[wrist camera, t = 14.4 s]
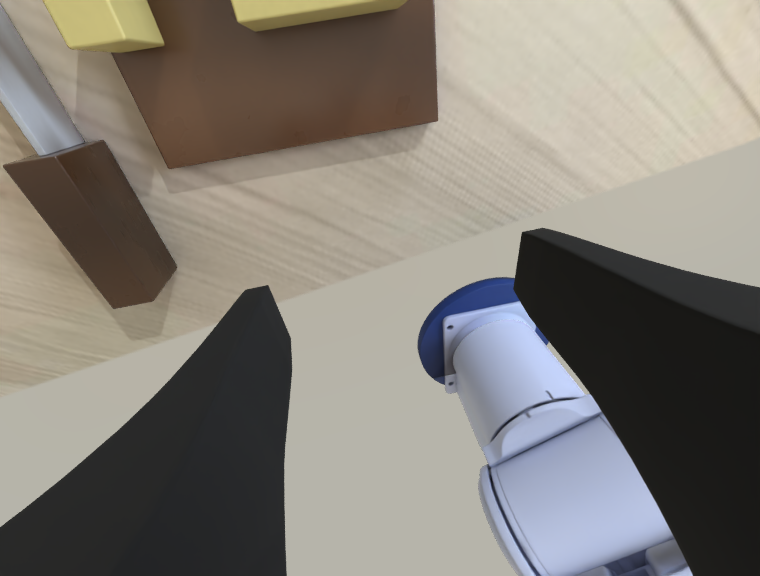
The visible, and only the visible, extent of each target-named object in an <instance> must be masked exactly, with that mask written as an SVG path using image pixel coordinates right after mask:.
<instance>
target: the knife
mask: <svg viewBox="0 0 760 576" xmlns="http://www.w3.org/2000/svg"><path fill="white" fill-rule="evenodd" d="M0 101H1V102H2V104H3V105H4V107H5V108H6V109H7V111H8V112H9V114H10V115H11V117H12V118H13V119H14V121H15V122H16V124H17V125H18V127H19V128H20V129H21V131H22V132H23V134H24V135H25V137H26V138H27V139H28V141H29V142H30V144H31V145H32V147H33V148H34V149H35V151H36V152H37V155H34V156H30V157H27V158H24V159H21V160H18V161H14V162H11V163H8V164H5V165H3V168H4V169H5V170H6V171H7V173H8V174H9V175H10V177H11V178H12V179H13V180H14V182H15V183H16V184H17V186H18V187H19V188H20V189H21V191H22V192H23V193H24V195H25V196H26V197H27V198H28V200H29V201H30V202H31V204H32V205H33V206H34V207H35V209H36V210H37V211H38V213H39V214H40V215H41V216H42V218H43V219H44V220H45V222H46V223H47V224H48V226H49V227H50V228H51V229H52V231H53V232H54V233H55V235H56V236H57V237H58V238H59V240H60V241H61V242H62V244H63V245H64V246H65V247H66V249H67V250H68V251H69V253H70V254H71V255H72V256H73V258H74V259H75V260H76V262H77V263H78V264H79V265H80V267H81V268H82V269H83V271H84V272H85V273H86V274H87V276H88V277H89V278H90V280H91V281H92V282H93V283H94V285H95V286H96V287H97V289H98V290H99V291H100V292H101V294H102V295H103V296H104V298H105V299H106V300H107V301H108V303H109V304H110V305H111V307H112V308H113V309H116V308H121V307H127V306H132V305H137V304H142V303H147V302H152V301H154V300H155V298H156V297H157V295H158V294H159V293H160V291H161V290H162V288H163V287H164V286H165V284H166V283H167V281H168V280H169V279H170V277H171V276H172V274H173V273H174V272H175V270H176V269H177V266H176V264H175V262H174V261H173V259H172V257H171V255H170V254H169V252H168V250H167V249H166V247H165V245H164V243H163V242H162V240H161V238H160V236H159V235H158V233H157V231H156V229H155V228H154V226H153V224H152V223H151V221H150V219H149V217H148V216H147V214H146V212H145V210H144V209H143V207H142V205H141V204H140V202H139V200H138V198H137V197H136V195H135V193H134V191H133V190H132V188H131V186H130V184H129V183H128V181H127V179H126V178H125V176H124V174H123V172H122V171H121V169H120V167H119V165H118V164H117V162H116V160H115V159H114V157H113V155H112V153H111V152H110V150H109V148H108V146H107V145H106V143H105V141H104V140H100V141H94V142H88V143H85V142H84V140H83V138H82V137H81V135H80V133H79V132H78V130H77V129H76V127H75V125H74V124H73V122H72V120H71V119H70V117H69V115H68V114H67V112H66V111H65V109H64V107H63V106H62V104H61V102H60V101H59V99H58V97H57V96H56V94H55V93H54V91H53V89H52V88H51V86H50V84H49V83H48V81H47V79H46V78H45V76H44V75H43V73H42V71H41V70H40V68H39V66H38V65H37V63H36V61H35V60H34V58H33V57H32V55H31V53H30V52H29V50H28V48H27V47H26V45H25V43H24V42H23V40H22V39H21V37H20V35H19V34H18V32H17V30H16V29H15V27H14V25H13V24H12V22H11V21H10V19H9V17H8V16H7V14H6V12H5V11H4V9H3V7H2V6H1V4H0Z"/></svg>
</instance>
